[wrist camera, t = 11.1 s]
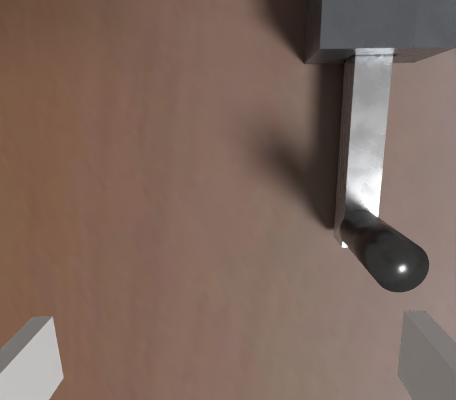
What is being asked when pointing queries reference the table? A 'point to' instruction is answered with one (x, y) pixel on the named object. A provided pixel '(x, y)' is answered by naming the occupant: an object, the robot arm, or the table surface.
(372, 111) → the shaft
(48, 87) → the table surface
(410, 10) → the block
